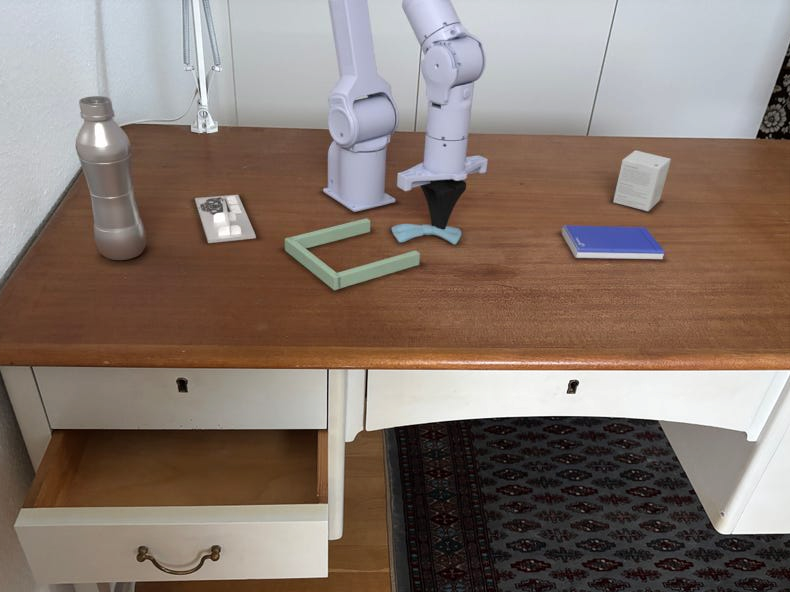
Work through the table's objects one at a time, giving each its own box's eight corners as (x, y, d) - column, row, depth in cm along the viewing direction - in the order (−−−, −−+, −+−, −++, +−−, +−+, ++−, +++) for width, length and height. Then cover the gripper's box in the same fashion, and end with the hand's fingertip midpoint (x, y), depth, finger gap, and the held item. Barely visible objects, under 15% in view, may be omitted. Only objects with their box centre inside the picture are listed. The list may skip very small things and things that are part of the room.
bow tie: (393, 233, 101) (391, 218, 105) (392, 243, 102) (390, 228, 106) (464, 235, 101) (460, 220, 105) (463, 245, 102) (458, 230, 106)
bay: (284, 250, 98) (284, 238, 97) (366, 229, 105) (366, 218, 104) (334, 290, 90) (334, 277, 89) (419, 265, 97) (420, 252, 96)
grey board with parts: (255, 238, 101) (254, 208, 99) (208, 243, 99) (204, 212, 97) (238, 197, 113) (236, 169, 110) (195, 200, 111) (191, 172, 108)
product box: (660, 201, 119) (672, 158, 114) (647, 213, 115) (660, 168, 110) (624, 191, 122) (635, 149, 117) (611, 202, 117) (621, 158, 113)
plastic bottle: (102, 270, 92) (70, 111, 80) (93, 248, 97) (61, 95, 85) (154, 261, 94) (129, 105, 83) (142, 240, 99) (117, 90, 88)
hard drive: (578, 249, 99) (665, 250, 100) (563, 223, 106) (644, 225, 107) (576, 259, 100) (662, 260, 101) (561, 233, 107) (642, 235, 108)
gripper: (422, 151, 90) (415, 249, 98) (506, 134, 97) (493, 226, 105) (390, 135, 95) (385, 230, 103) (472, 120, 102) (462, 209, 110)
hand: (438, 227), depth 104 cm, fingers closed
